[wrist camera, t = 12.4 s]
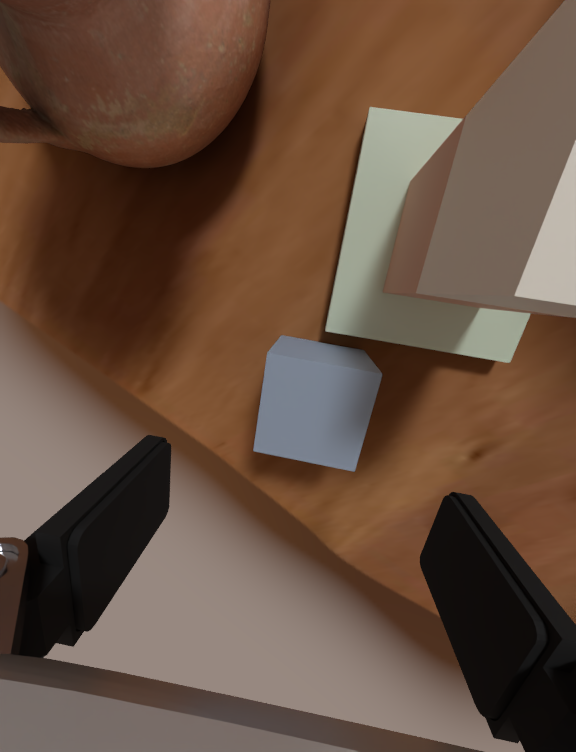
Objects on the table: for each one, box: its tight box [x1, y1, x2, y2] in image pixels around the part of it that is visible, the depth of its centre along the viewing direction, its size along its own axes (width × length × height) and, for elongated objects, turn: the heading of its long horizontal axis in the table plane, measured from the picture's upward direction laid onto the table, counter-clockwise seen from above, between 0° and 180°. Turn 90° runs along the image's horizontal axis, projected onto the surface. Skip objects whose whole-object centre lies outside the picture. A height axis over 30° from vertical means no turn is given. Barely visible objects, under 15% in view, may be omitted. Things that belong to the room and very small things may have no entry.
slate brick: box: [253, 335, 383, 472], centre depth 18 cm, size 6×6×6 cm
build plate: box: [325, 107, 531, 363], centre depth 17 cm, size 12×12×1 cm
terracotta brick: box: [383, 116, 564, 317], centre depth 13 cm, size 6×6×6 cm
